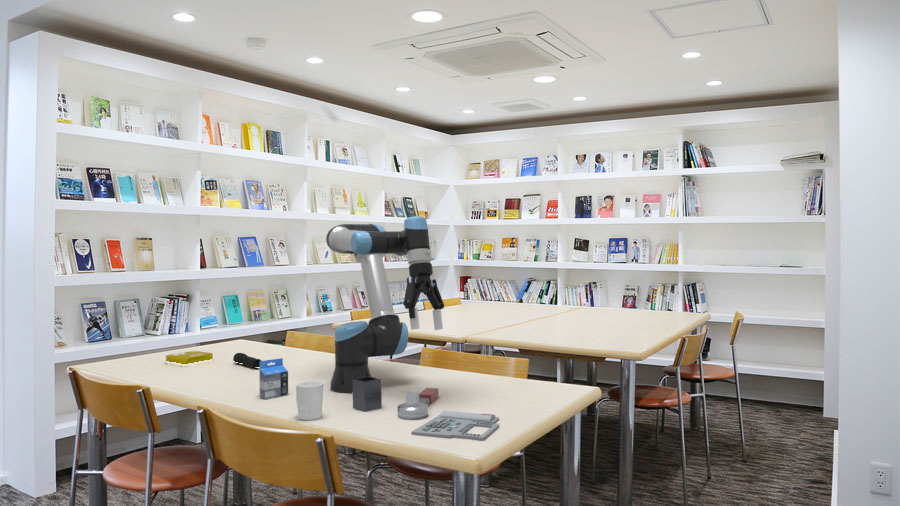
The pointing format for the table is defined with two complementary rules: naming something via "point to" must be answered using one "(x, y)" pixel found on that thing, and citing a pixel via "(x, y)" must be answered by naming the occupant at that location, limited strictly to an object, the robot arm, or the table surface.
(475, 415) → the office telephone
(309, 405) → the white cup
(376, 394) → the dark grey storage bin
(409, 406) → the grey and red tool
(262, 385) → the label tape cartridge
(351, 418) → the table surface
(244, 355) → the flashlight
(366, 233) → the robot arm
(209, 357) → the element tile
